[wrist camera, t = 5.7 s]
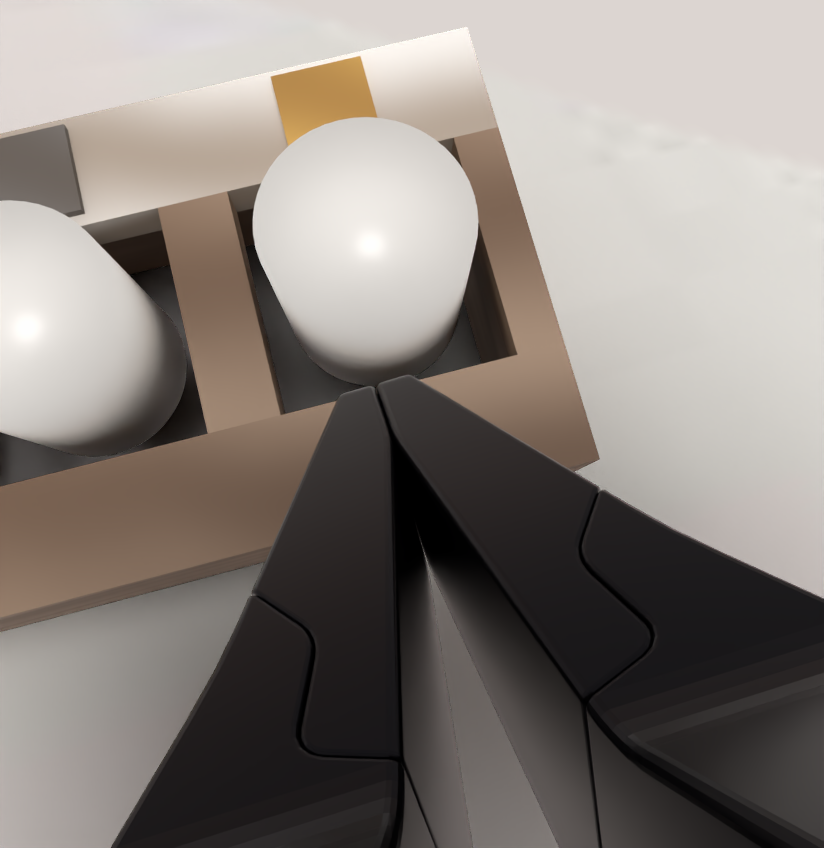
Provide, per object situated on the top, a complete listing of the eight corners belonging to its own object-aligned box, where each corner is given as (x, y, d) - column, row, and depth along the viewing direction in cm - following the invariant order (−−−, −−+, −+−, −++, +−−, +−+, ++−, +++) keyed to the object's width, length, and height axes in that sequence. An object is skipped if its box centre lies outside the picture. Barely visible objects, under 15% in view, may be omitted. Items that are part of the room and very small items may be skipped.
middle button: (203, 431, 18) (136, 389, 13) (28, 476, 17) (-100, 448, 13) (167, 269, 18) (91, 177, 14) (-2, 310, 18) (-135, 230, 14)
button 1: (479, 361, 18) (505, 297, 13) (311, 405, 18) (281, 354, 13) (434, 205, 19) (444, 95, 14) (272, 245, 18) (230, 145, 14)
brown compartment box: (538, 488, 22) (602, 457, 15) (-154, 672, 21) (-431, 730, 14) (448, 178, 24) (468, 20, 17) (-201, 334, 23) (-471, 235, 16)
